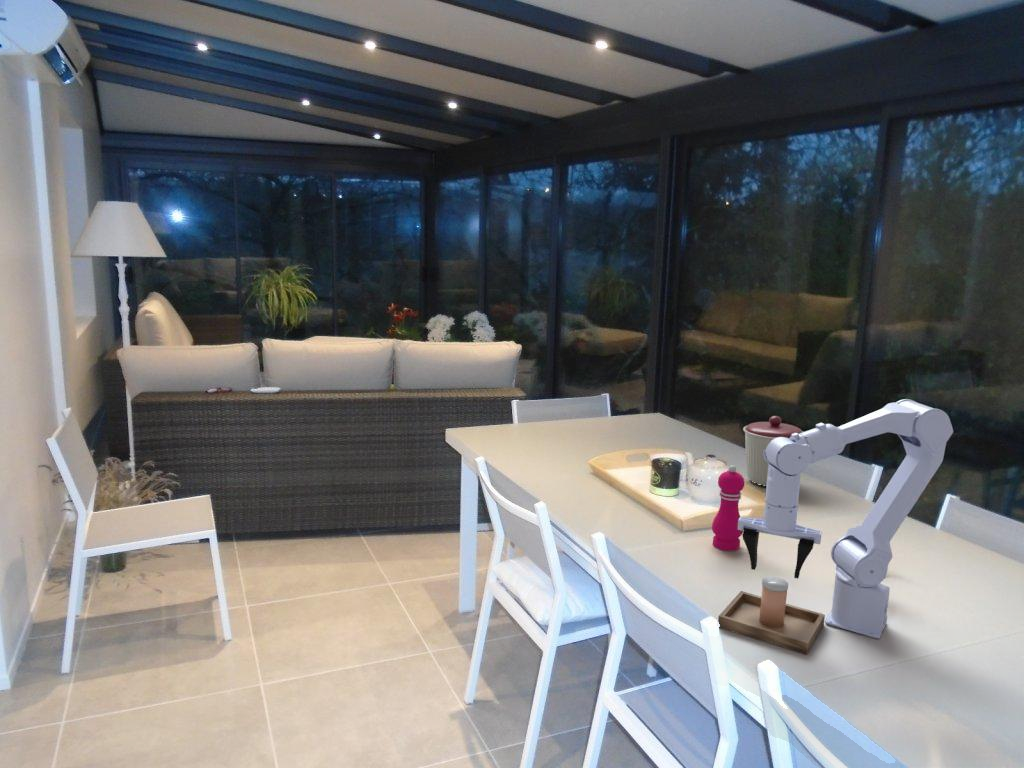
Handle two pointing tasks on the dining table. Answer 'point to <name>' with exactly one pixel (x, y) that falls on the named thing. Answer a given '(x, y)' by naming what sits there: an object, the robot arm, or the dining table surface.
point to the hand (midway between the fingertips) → (775, 572)
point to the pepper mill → (728, 511)
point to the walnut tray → (792, 635)
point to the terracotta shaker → (773, 601)
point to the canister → (763, 445)
